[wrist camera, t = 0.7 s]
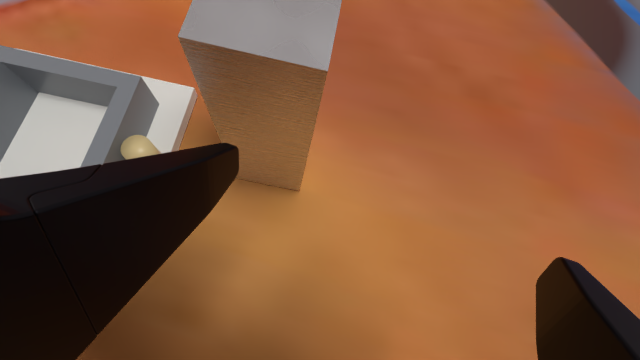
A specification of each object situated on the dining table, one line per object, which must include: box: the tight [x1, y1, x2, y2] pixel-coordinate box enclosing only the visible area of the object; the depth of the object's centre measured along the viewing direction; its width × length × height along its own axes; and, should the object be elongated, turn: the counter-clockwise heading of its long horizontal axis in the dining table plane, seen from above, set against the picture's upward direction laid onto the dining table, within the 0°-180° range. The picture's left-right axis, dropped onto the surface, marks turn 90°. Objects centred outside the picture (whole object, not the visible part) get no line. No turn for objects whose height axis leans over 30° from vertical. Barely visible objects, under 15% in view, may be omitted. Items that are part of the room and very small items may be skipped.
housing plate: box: [0, 45, 198, 178], centre depth 18 cm, size 12×12×4 cm
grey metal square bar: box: [178, 0, 342, 191], centre depth 16 cm, size 4×4×13 cm
